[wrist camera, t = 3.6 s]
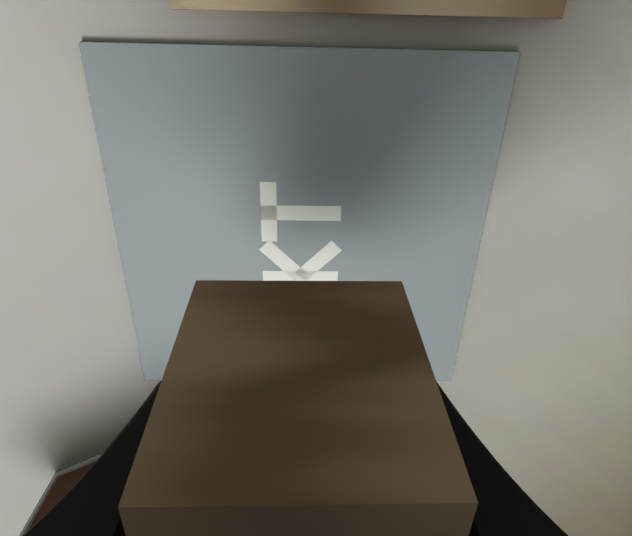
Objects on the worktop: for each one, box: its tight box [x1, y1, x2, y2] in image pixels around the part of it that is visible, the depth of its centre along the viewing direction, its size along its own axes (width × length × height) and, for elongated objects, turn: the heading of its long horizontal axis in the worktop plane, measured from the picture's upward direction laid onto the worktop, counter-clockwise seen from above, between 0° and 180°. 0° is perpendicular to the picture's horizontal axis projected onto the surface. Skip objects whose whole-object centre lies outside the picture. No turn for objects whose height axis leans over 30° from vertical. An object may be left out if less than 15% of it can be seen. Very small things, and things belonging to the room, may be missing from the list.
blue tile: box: [79, 41, 520, 381], centre depth 19 cm, size 14×14×1 cm
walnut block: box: [118, 280, 478, 536], centre depth 11 cm, size 5×5×6 cm
